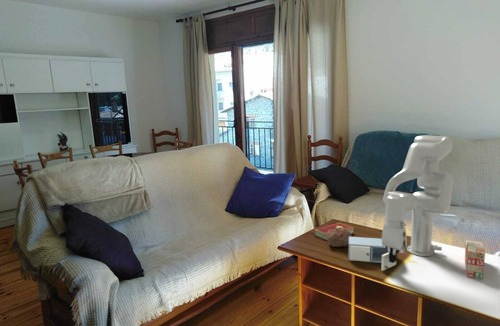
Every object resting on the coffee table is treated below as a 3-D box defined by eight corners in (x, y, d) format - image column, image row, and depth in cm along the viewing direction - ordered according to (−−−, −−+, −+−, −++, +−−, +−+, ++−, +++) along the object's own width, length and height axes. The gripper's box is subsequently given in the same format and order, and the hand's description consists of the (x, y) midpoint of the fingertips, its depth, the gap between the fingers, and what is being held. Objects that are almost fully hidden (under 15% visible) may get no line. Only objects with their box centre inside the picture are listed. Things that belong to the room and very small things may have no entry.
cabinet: (393, 255, 176) (394, 239, 175) (397, 266, 165) (397, 249, 163) (348, 252, 182) (348, 236, 180) (348, 261, 170) (349, 245, 169)
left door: (395, 263, 166) (395, 248, 165) (399, 265, 164) (400, 249, 163) (381, 270, 160) (381, 254, 159) (385, 272, 158) (386, 255, 157)
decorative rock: (351, 242, 194) (352, 225, 192) (350, 250, 183) (350, 232, 182) (328, 240, 198) (328, 223, 196) (325, 248, 188) (325, 230, 186)
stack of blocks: (464, 258, 172) (466, 234, 170) (479, 260, 168) (481, 236, 166) (466, 276, 153) (468, 250, 151) (483, 279, 150) (485, 252, 148)
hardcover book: (314, 235, 207) (314, 229, 206) (338, 228, 218) (338, 222, 217) (328, 242, 197) (329, 235, 196) (353, 234, 208) (354, 227, 207)
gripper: (415, 225, 151) (412, 265, 154) (384, 217, 163) (383, 254, 166) (405, 229, 147) (403, 270, 150) (374, 220, 159) (373, 258, 162)
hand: (392, 261), depth 158 cm, fingers closed
